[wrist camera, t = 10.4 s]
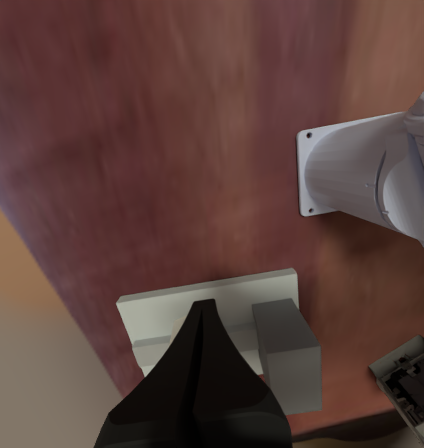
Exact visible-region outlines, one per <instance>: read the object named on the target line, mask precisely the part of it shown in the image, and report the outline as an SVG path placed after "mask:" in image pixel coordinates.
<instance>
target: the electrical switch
mask: <svg viewBox="0 0 424 448" xmlns="http://www.w3.org/2000/svg"><path fill="white" fill-rule="evenodd" d="M405 353H406V355H408V356H409V357H410V358H409V357H407V356H406V355H405ZM400 357H404V358H405V359H406V361H405V362H403V363H400V362H399V359H400ZM392 360H393V361H392ZM394 361H395V362H396V364H397V366H396V364H395V363H394ZM380 362H381V363H380ZM369 368H370V369H371V370H372V372H373V373H374V375H375V376H376V377H377V381H376V383H377V385H378V386H379V388H380V389H381V390H382V392H384V393H385V394H386V396H387V397H388V398H389V400H390V401H391V402H392V404H393V405H394V407H395V408H396V409H397V411H398V412H399V413H400V415H401V416H402V418H403V419H404V420H405V422H406V423H407V425H408V426H409V427H410V429H411V430H412V431H413V433H414V434H415V435H416V437H417V438H418V440H419V441H420V442H419V443H420V445H421V446H422V447H423V448H424V338H423V337H422V336H421V335H418V336H416V337H414V338H413V339H411V340H409V341H408V342H406V343H405V344H403V345H401V346H400V347H398V348H397V349H395V350H393V351H392V352H390V353H388V354H387V355H385V356H384V357H382V358H380V359H379V360H377V361H375V362H374V363H372V364H371V365H369ZM381 370H382V371H381Z"/></svg>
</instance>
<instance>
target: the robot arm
mask: <svg viewBox="0 0 424 448" xmlns="http://www.w3.org/2000/svg"><path fill="white" fill-rule="evenodd" d="M307 133H309V134H310V137H309V139H308V138H307V137H306V135H307ZM296 141H297V163H298V185H299V207H300V214H301V215H303V216H311V215H317V214H322V213H328V212H334V211H342V212H345V213H347V214H350V215H353V216H356V217H358V218H361V219H364V220H367V221H369V222H372V223H375V224H378V225H380V226H383V227H386V228H389V229H391V230H394V231H397V232H400V233H402V234H405V235H407V236H410V237H413V238H415V239H417V240H419V241H420V242H421V244H422V246H423V248H424V92H423V93H422V94H421V95H420V96H419V98H418V99H417V100H416V102H415V103H414V105H413V106H412V107H410V108H409V110H408V111H405V112H398V113H393V114H388V115H382V116H377V117H372V118H367V119H361V120H356V121H351V122H345V123H340V124H335V125H330V126H324V127H319V128H314V129H309V130H303V131H301V132H299V133H298V134H297V137H296ZM311 208H312V211H311V212H309V209H311ZM94 448H293V447H292V436H291V429H290V426H289V423H288V420H287V418H286V416H285V414H284V412H283V410H282V408H281V406H280V404H279V402H278V401H277V399H276V397H275V396H274V394H273V392H272V390H271V389H270V388H269V387H268V386H267V385H266V384H265V383H264V381H263V380H262V379H261V378H260V377H259V376H258V375H257V374H256V373H255V371H254V370H253V369H252V368H251V367H250V365H249V364H248V363H247V362H246V360H245V359H244V358H243V356H242V355H241V354H240V352H239V351H238V349H237V348H236V346H235V345H234V343H233V342H232V340H231V338H230V337H229V335H228V333H227V331H226V329H225V328H224V326H223V323H222V321H221V319H220V317H219V314H218V311H217V306H216V301H215V299H214V298H212V299H206V300H199V301H194V302H193V304H192V306H191V308H190V310H189V313H188V315H187V317H186V319H185V321H184V322H183V324H182V326H181V328H180V330H179V332H178V333H177V335H176V336H175V338H174V340H173V341H172V343H171V344H170V346H169V348H168V349H167V350H166V352H165V353H164V355H163V356H162V357H161V359H160V360H159V361H158V362H157V364H156V365H155V366H154V367H153V369H152V370H151V371H150V372H149V373H148V375H147V376H146V377H145V378H144V379H143V380H142V381H141V382H140V383H139V384H138V385H137V386H136V388H135V389H134V390H133V391H132V392H131V393H130V394H129V395H127V396H126V397H125V398H124V399H123V400H122V401H121V402H120V403H119V404H118V405H117V406H116V407H115V408H114V409H112V410H111V411H110V412H109V413H108V416H107V418H106V420H105V422H104V424H103V426H102V428H101V431H100V433H99V436H98V438H97V440H96V443H95V446H94Z"/></svg>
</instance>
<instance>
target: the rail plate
mask: <svg viewBox="0 0 424 448" xmlns="http://www.w3.org/2000/svg"><path fill="white" fill-rule="evenodd" d="M212 298H214V299H215V301H216V306H217V311H218V314H219V317H220V319H221V321H222V323H223V326H224V328H225V329H226V331H227V333H228V335H229V337H230V338H231V340H232V342H233V343H234V345H235V346H236V348H237V349H238V351H239V352H240V354H241V355H242V356H243V358H244V359H245V360H246V362H247V363H248V364H249V365H250V367H251V368H252V369H253V370H254V371H255V373H256V374H257V375H259V374H264V378H265V382H266V385H267V386H268V387H269V388H270V389H271V390H272V392H273V394H274V396H275V397H276V399H277V401H278V402H279V404H280V406H281V408H282V410H283V412H284V414H285V415H289V414H297V413H304V412H311V411H318V410H322V378H321V345H320V344H319V342H318V340H317V339H316V337H315V335H314V334H313V332H312V331H311V329H310V327H309V326H308V324H307V322H306V321H305V319H304V318H303V316H302V314H301V313H300V311H299V301H298V283H297V273H296V272H295V271H294V269H293V268H289V269H283V270H277V271H271V272H265V273H259V274H253V275H247V276H241V277H235V278H229V279H222V280H216V281H210V282H204V283H198V284H192V285H186V286H180V287H174V288H168V289H162V290H156V291H150V292H144V293H138V294H131V295H125V296H121V297H120V298H119V300H118V301H117V303H116V304H117V307H118V309H119V312H120V315H121V317H122V320H123V322H124V325H125V327H126V330H127V332H128V335H129V338H130V340H131V343H132V345H133V347H132V350H133V352H134V355H135V357H136V360H137V362H138V365H139V367H141V368H142V371H143V373H144V376H145V377H146V376H147V375H148V373H149V372H150V371H151V370H152V369H153V367H154V366H155V365H156V364H157V362H158V361H159V360H160V359H161V357H162V356H163V355H164V353H165V352H166V350H167V349H168V348H169V343H170V339H171V334H172V329H173V325H174V320H177V319H179V318H181V317H184V316H186V315H188V313H189V310H190V308H191V306H192V304H193V302H194V301H199V300H206V299H212Z"/></svg>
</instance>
